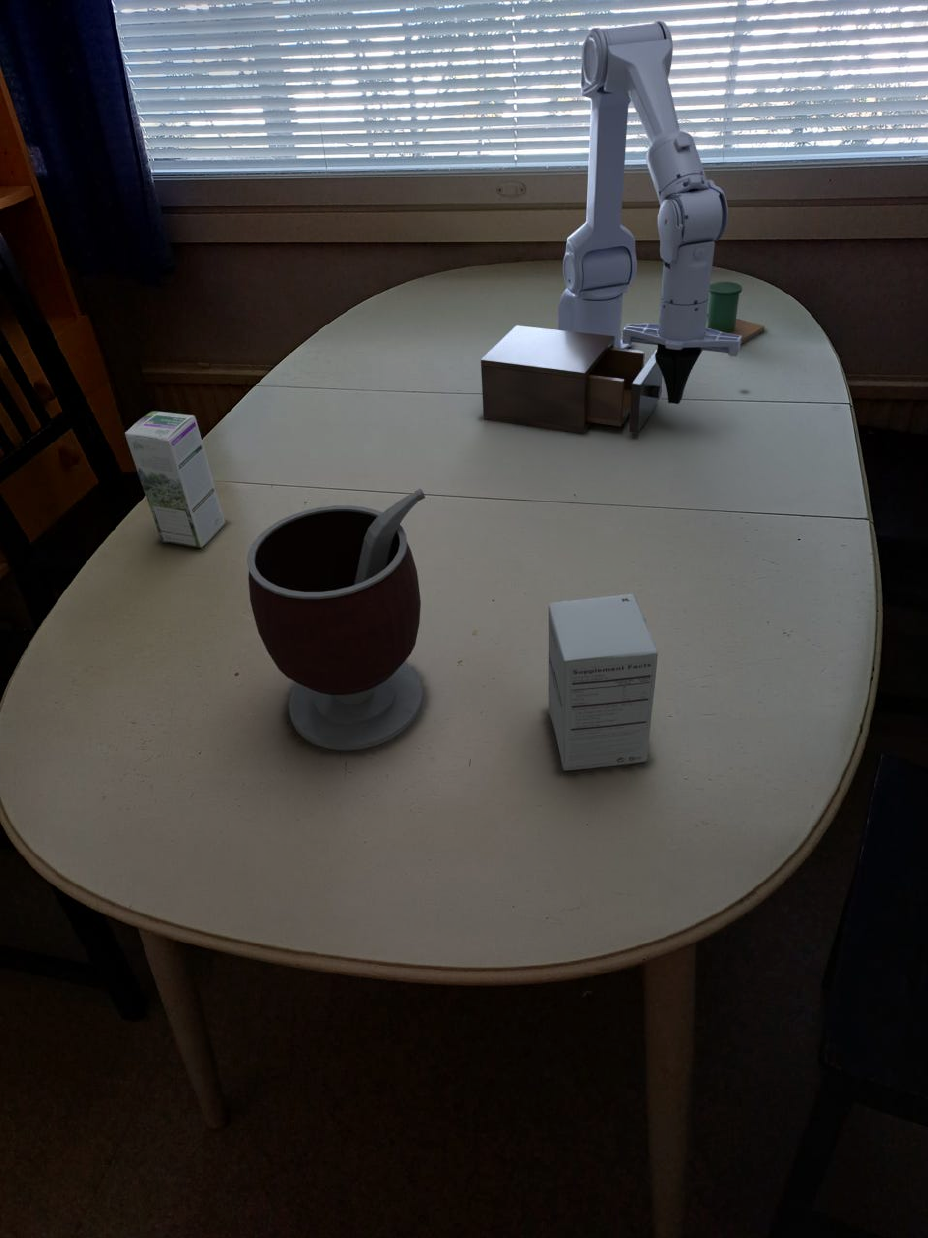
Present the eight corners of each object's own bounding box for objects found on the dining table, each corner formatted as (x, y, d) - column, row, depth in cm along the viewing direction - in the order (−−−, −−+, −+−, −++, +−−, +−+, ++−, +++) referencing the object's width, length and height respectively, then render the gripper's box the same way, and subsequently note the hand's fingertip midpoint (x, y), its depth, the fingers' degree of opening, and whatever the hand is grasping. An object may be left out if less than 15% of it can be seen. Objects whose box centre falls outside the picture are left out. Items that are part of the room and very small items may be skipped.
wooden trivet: (674, 336, 143) (675, 331, 143) (709, 317, 148) (709, 312, 148) (730, 351, 137) (730, 346, 137) (764, 330, 143) (764, 325, 142)
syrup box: (227, 523, 108) (197, 412, 99) (200, 550, 104) (167, 437, 95) (186, 517, 110) (153, 407, 100) (159, 544, 105) (121, 431, 96)
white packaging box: (546, 711, 80) (546, 599, 72) (628, 702, 80) (637, 590, 72) (560, 774, 74) (561, 660, 66) (649, 764, 75) (660, 650, 67)
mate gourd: (304, 778, 76) (255, 590, 63) (264, 678, 86) (216, 498, 73) (471, 718, 80) (457, 531, 67) (415, 630, 90) (393, 452, 77)
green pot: (698, 329, 143) (702, 288, 138) (715, 319, 145) (720, 279, 141) (725, 336, 140) (730, 294, 136) (742, 326, 142) (748, 285, 138)
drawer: (669, 397, 124) (673, 350, 120) (646, 435, 117) (650, 386, 112) (568, 384, 130) (569, 338, 125) (540, 419, 122) (540, 371, 118)
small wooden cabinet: (612, 394, 128) (615, 335, 123) (583, 434, 120) (585, 373, 114) (517, 381, 134) (516, 324, 128) (483, 418, 125) (480, 359, 120)
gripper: (617, 302, 109) (612, 405, 118) (738, 314, 104) (724, 421, 113) (634, 283, 114) (628, 383, 123) (750, 293, 109) (735, 397, 118)
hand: (675, 400), depth 118 cm, fingers closed
